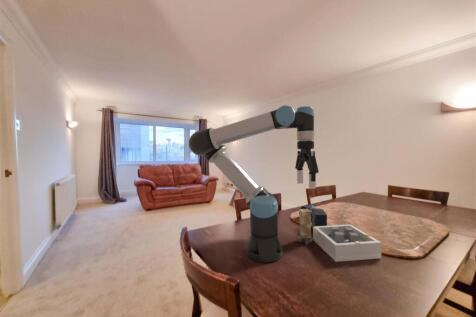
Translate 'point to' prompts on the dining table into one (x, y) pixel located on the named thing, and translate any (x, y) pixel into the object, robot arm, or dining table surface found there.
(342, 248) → the white open square box
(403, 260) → the dining table surface
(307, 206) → the rock
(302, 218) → the long wooden block
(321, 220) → the small box
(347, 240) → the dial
